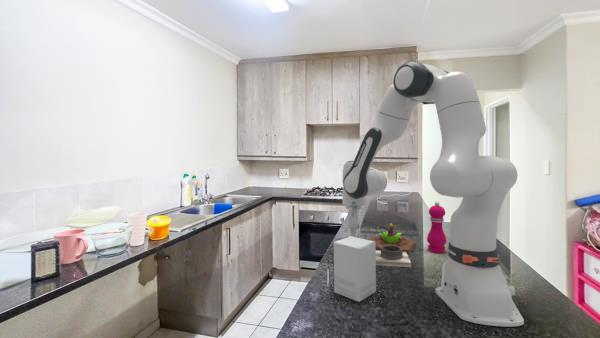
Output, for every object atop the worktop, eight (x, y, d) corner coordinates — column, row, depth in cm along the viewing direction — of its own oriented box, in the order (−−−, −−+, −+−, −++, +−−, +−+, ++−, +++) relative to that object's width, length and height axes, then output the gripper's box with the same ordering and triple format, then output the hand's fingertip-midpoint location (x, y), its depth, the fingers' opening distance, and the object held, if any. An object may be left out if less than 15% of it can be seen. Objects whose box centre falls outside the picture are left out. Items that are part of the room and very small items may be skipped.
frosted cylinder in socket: (359, 253, 121) (359, 223, 120) (347, 253, 122) (347, 223, 121) (359, 249, 125) (359, 221, 125) (348, 249, 126) (348, 220, 125)
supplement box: (377, 292, 88) (377, 241, 87) (359, 303, 82) (359, 248, 81) (351, 282, 94) (351, 235, 94) (333, 292, 88) (332, 241, 87)
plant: (364, 252, 123) (363, 225, 123) (369, 239, 142) (369, 215, 141) (416, 257, 117) (416, 228, 116) (414, 242, 135) (415, 217, 135)
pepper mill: (448, 254, 119) (449, 203, 118) (429, 253, 120) (429, 203, 119) (443, 248, 126) (444, 200, 125) (425, 247, 127) (425, 200, 126)
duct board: (411, 267, 106) (411, 254, 106) (375, 265, 108) (375, 252, 108) (405, 255, 118) (406, 244, 117) (374, 254, 120) (374, 242, 120)
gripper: (361, 205, 112) (361, 242, 113) (361, 196, 132) (361, 227, 133) (344, 204, 113) (344, 241, 114) (346, 196, 133) (346, 227, 134)
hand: (353, 233), depth 124 cm, fingers open, 8 cm apart
